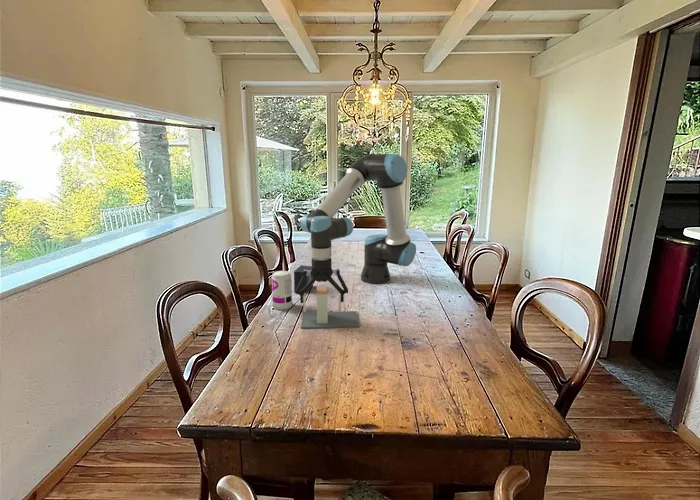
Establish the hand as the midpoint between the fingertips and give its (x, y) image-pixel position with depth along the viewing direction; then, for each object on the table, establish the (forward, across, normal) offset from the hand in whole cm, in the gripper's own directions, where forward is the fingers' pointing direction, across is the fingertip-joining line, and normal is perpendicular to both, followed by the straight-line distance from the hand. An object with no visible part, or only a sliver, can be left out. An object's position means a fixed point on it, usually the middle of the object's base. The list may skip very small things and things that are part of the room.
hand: (322, 310), depth 157 cm
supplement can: (+4, +17, -15) cm, 23 cm away
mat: (+4, -3, 0) cm, 5 cm away
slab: (+4, 0, 0) cm, 4 cm away
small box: (+5, +9, -36) cm, 37 cm away
